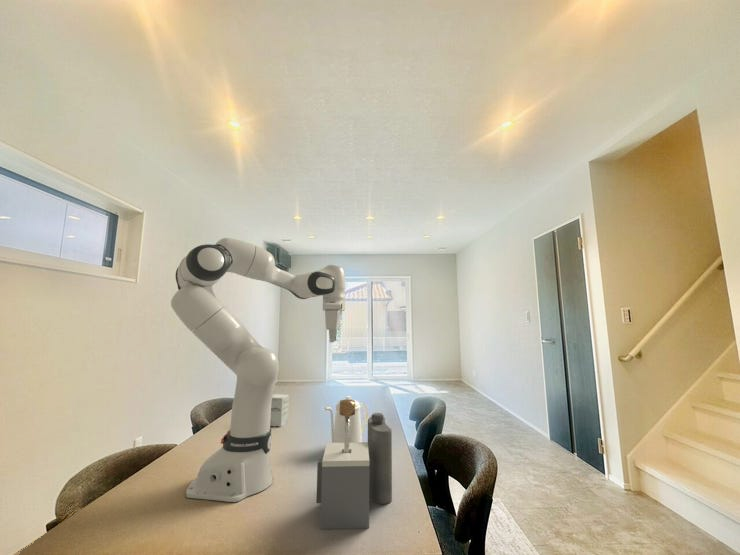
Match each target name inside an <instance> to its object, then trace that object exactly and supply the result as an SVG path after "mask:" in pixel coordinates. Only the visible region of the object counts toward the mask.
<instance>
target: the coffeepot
mask: <svg viewBox="0 0 740 555" xmlns="http://www.w3.org/2000/svg"><path fill="white" fill-rule="evenodd" d="M351 398H352V396H350V395H346V396H345V399H344V400H346V399H349V400H354V401H355V414H354V415H352V416H350V419H349V443H354V442H363V438H362V434H363V433H364V432H365V429H366V427H367V426H368V419H369V407H368V405H367V404H366V403H362V402H359V401H358V400H356V399H351ZM340 401H341V400H339V401H338V402H337V404H336V405H335V417H334V410H333V409H332V407H330V406H325V407H324V408H323V409H322V411H323V412H324V411H330V421H331V423H330V427H331V430H330V431H331V443H344V437H345V416H342V415H340V414H339V409H340ZM361 409H362V414H363V418H362V419H361Z"/></svg>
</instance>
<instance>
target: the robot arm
mask: <svg viewBox="0 0 740 555" xmlns="http://www.w3.org/2000/svg"><path fill="white" fill-rule="evenodd" d="M226 273H231V274H232V273H233V274H236V275H238V276H242V277H244V278H249V279H252V280H256V281H262V282H265V283H268V284H271V285H274V286H277V287H280V288H282V289H285V290H287V291H288V292H290V293H291V294H292V295H293V296H295V298H298V299H300V300H306V299H310V298H316V297H321V296H322V311H323V312H324V316H325V317H324V318H325V329H326V331H328V336H329V343H335V342H336V341H337V335H338V330H339V329H340V316H342V312H344V311H345V310H346V299H345V298H346V297H345V290H346V274H345V271H344V269H343V268H342V267H341V266H337V265H333V264H329V265H326V266H325V267H323V268H321V269H318V270H316V271H312V272H308V273H305V274H299V275H298V274H293V273H290V272H288V271H286V270H283V269H280V268H279V267H277V266H276V262H275V257H274V256H273V254H272V253H271V252H269V251H268V250H266V249H264V248H262V247H260V246H257V245H255V244H252V243H249V242H246V241H243V240H239V239H235V238H230V237H223V238H221V239H219V240H217V242H216V243H214V244H211V243H210V244H206V243H205V244H201V245H198V246H195V247H193V248H192V249H191V250H190V251H189V252H188V253H187V255H185V257H183V258H182V259H181V261H180V263H179V265H178V267H177V269H176V271H175V281H176V284H177V289H178V290H177V291H176V292H175V293H174V295H173V296H172V298H171V300H170V305H171V308H172V310H173V311H174V313H175V314H176V316H177V317H178V319H179V320H180V321H181V322H182V323H183V324H184V326H185V327H186V329H188V330H189V331H190V332H191V333H192V334H193V336H195V337H196V338H197V339H198V340H199V341H200V342H201V343H203V345H204V346H205V347H206V348H207V349H208V350H210V352H212V353H213V354H214V355H215V356H216V357H217V358H218V359H219V360H220V361H221V362H222V363H223V364H224V365H225V366H227V367H228V368H229V369H230V370H231V371H232V372H233V373H234V374H235V375H236V385H235V390H234V397H233V401H232V404H231V413H230V414H231V417H230V429H229V430H227V431H226V434H224V435H223V437H222V438H221V439H220V444H221V445H222V447H220V448H219V449H218V450H216V452H215V453H213V454H212V455H210V456H209V457H208V458H207V459H205V461H204V462H203V463H202V465H201V466H200V468H199V471H198V473H197V476H196V478H194V480H192V482H190V484H189V485H188V486H187V488H186V492H185V497H186V498H188V499H189V498H190V499H197V500H198V499H199V500H209V501H210V500H211V501H220V502H229V503H237V502H240V501H242V500H244V499H245V498H247V497H250V496H252V495H255V494H258V493H261V492H263V491H264V490H266V489H267V488H269V487H270V486H271V484H273V481H274V476H273V473H272V467H271V456H270V455H271V452H270V451H271V447H272V437H273V436H272V428H271V426H270V419H271V403H272V397H273V395H274V391H275V386H276V383H277V377H278V374H279V372H280V371H279V370H280V363H279V360H278V357H277V355H276V354H275V353H274V352H273V351H272V350H271V349H269V348H267V347H263V346H262V345H261V344H260V343H259V342H258V341H257V340H256V339H255V337H254V336H253V335H252V334H251V333H250V332H249V331H248V329H247V328H246V327H245V325H244V323H243V322H241V321H240V320H239V319H238V317H236V316H235V314H233V312H232V311H230V310H229V308H227V306H225V304H224V303H222V302H221V300H219V299H218V298H217V296H216V294H215V292H214V290H213V286H214V285H215V284H217V283H218V282H219V281H220V279H221V278H222V277H224V276H225V275H226Z"/></svg>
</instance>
